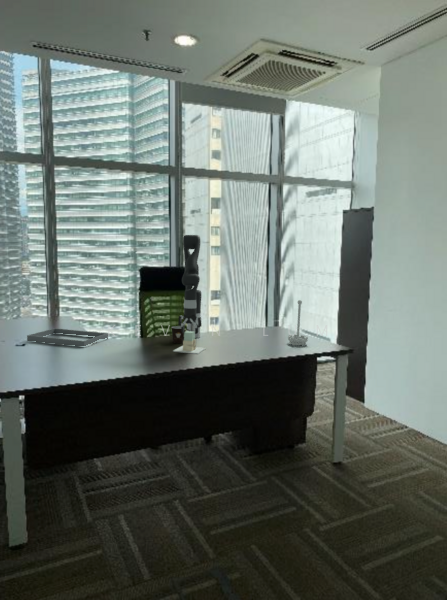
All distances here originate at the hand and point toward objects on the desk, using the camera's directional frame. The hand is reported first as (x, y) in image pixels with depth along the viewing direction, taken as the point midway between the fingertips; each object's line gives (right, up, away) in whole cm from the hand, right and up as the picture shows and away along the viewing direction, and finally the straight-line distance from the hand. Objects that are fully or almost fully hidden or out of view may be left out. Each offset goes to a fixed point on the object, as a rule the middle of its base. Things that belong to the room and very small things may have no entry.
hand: (189, 333), depth 272 cm
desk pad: (0, -11, +2) cm, 11 cm away
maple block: (0, -10, +1) cm, 10 cm away
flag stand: (+71, -10, +29) cm, 77 cm away
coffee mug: (-8, -8, +23) cm, 26 cm away
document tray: (-81, -6, +19) cm, 83 cm away
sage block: (0, -4, 0) cm, 4 cm away
